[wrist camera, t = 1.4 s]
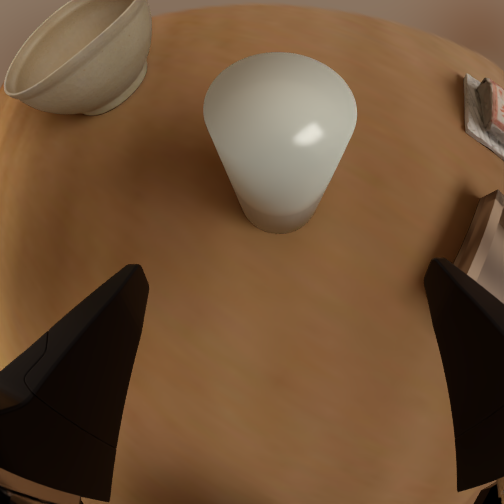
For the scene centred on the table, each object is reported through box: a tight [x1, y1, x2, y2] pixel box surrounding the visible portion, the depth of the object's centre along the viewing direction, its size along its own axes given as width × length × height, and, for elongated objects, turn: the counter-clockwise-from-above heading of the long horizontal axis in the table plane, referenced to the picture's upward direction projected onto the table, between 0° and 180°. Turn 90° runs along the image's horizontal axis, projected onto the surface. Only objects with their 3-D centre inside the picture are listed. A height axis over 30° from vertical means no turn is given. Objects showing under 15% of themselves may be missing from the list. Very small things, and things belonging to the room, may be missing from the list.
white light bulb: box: [203, 52, 357, 234], centre depth 16 cm, size 6×6×12 cm
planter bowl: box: [4, 0, 152, 115], centre depth 20 cm, size 16×16×11 cm
